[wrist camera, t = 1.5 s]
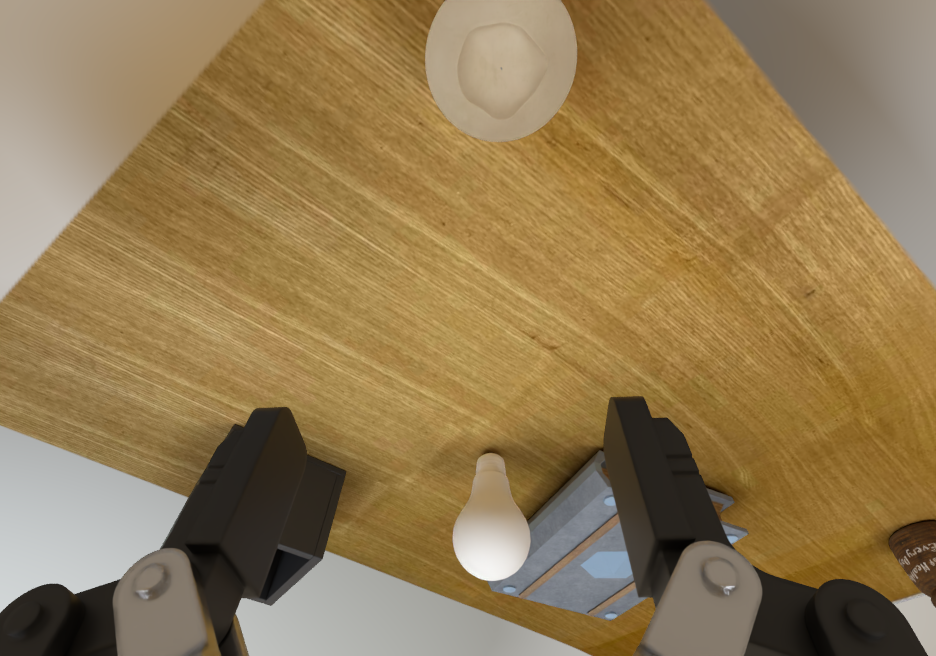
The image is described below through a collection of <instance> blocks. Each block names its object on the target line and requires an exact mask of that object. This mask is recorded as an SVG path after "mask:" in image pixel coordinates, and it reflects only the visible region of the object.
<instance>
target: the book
mask: <svg viewBox="0 0 936 656" xmlns="http://www.w3.org/2000/svg"><path fill="white" fill-rule="evenodd" d="M706 489H707V491H708V493H709V496H710V498H711V500H712V503H713V505H714V508H715V510H716V512H717V515H718V517H719V519H720V522H721V524H722V526H723V529H724V531H725V534H726V536H727V538H728V540H729V542H730V543H731V544H733V543H735V542H736V541H738V540H739V539H741V538H743V537H744V536H746V535H747V534H749V533H748V531H747V529H744V528H741V527H738V526H735V525H732V524H729V523H726V522H723V521H722V520H721V517H720V515H719V514H720V512H722V511H723V510H725V509H726V508H727V507H729V506H730V505H732V504H733V503H734V501H733V498H732V497H730V496H727V495H725V494H722V493H719V492H716V491H713V490H710V489H708V488H706ZM527 523H528V526H529V530H530V540H531V542H530V549H529V552H528V555H527V558H526V560H525V562H524V563H523V565H522V566H521V567H520V569H519V570H518V571H517V572H516V573H514V574H513V575H511V576H509V577H508V578H505V579H502V580H497V581H488V580H487V581H488V583H489V585H490V587H491V589H492V591H496V592H500V593H504V594H508V595H512V596H515V597H519V598H522V599H527V600H531V601H535V602H539V603H543V604H547V605H551V606H555V607H559V608H563V609H567V610H570V611H574V612H578V613H582V614H586V615H590V616H594V617H598V618H602V619H606V620H610V621H611V620H613V619H614V618H616V617H617V616H619V615H621V614H622V613H624V612H625V611H627V610H629V609H630V608H632V607H633V606H635V605H636V604H638V603H640V602H641V601H643V600H644V599H646V598H648V597H640V598H638V594H637V590H636V586H635V582H634V578H633V574H632V570H631V566H630V561H629V557H628V553H627V549H626V545H625V541H624V537H623V533H622V528H621V524H620V520H619V516H618V512H617V508H616V504H615V500H614V495H613V491H612V487H611V483H610V479H609V475H608V471H607V467H606V462H605V456H604V452H603V451H600V450H599V451H598V452H597V453H596V454H595V455H594V456H593V457H592V458H591V459H590V460H589V461H588V462H587V463H586V464H585V465H584V466H583V467H582V468H581V469H580V470H579V471H578V472H577V473H576V474H575V475H574V476H573V477H572V478H571V479H570V480H569V481H568V482H567V483H566V484H565V485H564V486H563V487H562V488H561V489H560V490H559V491H558V492H557V493H556V494H555V495H554V496H553V497H552V498H551V499H550V500H549V501H548V502H547V503H546V504H545V505H544V506H543V507H542V508H541V509H540V510H539V511H537V512H536V513H535V514H534V515H533V516H532V517H531V518H530V519H529V520H528V521H527Z"/></svg>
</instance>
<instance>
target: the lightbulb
mask: <svg viewBox="0 0 936 656" xmlns="http://www.w3.org/2000/svg"><path fill="white" fill-rule="evenodd" d="M530 542H531V540H530V530H529V526H528V523H527V521H526V519H525V517H524V515H523V514H522V512H521V510H520V509H519V508H518V506H517V505H516V503H515V502H514V500H513V498H512V496H511V492H510V488H509V481H508V478H507V477H506V472H505V463H504V459H503V458H502V457H501V456H499V455H497V454H494V453H487V454H484V455H482V456H480V457H479V458H478V460H477V466H476V476H475V478H474V480H473V487H472V492H471V496H470V498H469V500H468V502H467V504H466V505H465V506H464V508H463V509H462V511H461V513H460V514H459V516H458V518H457V520H456V522H455V526H454V529H453V546H454V550H455V553H456V556H457V558H458V560H459V561H460V563H461V564H462V566H463V567H464V568H465V569H466V570H467V571H468V572H469V573H470V574H472V575H474V576H475V577H477V578H480V579H483V580H488V581H497V580H502V579H505V578H508V577H509V576H511V575H513V574H514V573H516V572H517V571H518V570H519V569H520V567H521V566H522V565H523V563H524V562H525V560H526V558H527V555H528V552H529V549H530Z"/></svg>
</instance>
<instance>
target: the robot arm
mask: <svg viewBox="0 0 936 656" xmlns="http://www.w3.org/2000/svg"><path fill="white" fill-rule="evenodd" d="M604 456H605V462H606V467H607V471H608V475H609V479H610V483H611V487H612V491H613V495H614V500H615V504H616V508H617V512H618V516H619V520H620V524H621V528H622V533H623V537H624V541H625V545H626V549H627V553H628V557H629V561H630V566H631V570H632V574H633V578H634V582H635V586H636V590H637V594H638V598H640V597H653V599H654V603H655V607H656V610H655V612H654V615H653V617H652V619H651V621H650V623H649V625H648V628H647V630H646V632H645V634H644V636H643V638H642V640H641V642H640V644H639V646H638V647H637V649H636V651H635V653H634V655H633V656H928V655H927V653H926V652H925V650H924V648H923V646H922V645H921V643H920V641H919V640H918V638H917V636H916V635H915V633H914V631H913V629H912V628H911V626H910V624H909V623H908V621H907V620H906V618H905V617H904V615H903V614H902V613H901V612H900V611H899V610H898V608H897V607H896V606H895V605H894V604H893V603H892V602H890V601H889V600H888V599H887V598H885V597H884V596H883V595H882V594H880V593H878V592H877V591H875V590H874V589H872V588H870V587H868V586H866V585H864V584H861V583H858V582H855V581H851V580H845V579H835V580H830V581H828V582H826V583H824V584H823V585H821V586H820V587H819V589H816V588H813V587H809V586H806V585H802V584H799V583H796V582H792V581H789V580H786V579H782V578H779V577H776V576H773V575H770V574H767V573H765V572H763V571H761V570H759V569H758V568H756V567H755V566H753V565H751V564H750V562H749V561H748V560H747V559H746V558H745V557H744V556H743V555H741V554H740V553H739V552H737V551H736V550H735V549H734V547H733V546H732V545H731V543H730V542H729V540H728V538H727V536H726V534H725V531H724V529H723V526H722V524H721V522H720V519H719V517H718V515H717V512H716V510H715V508H714V505H713V503H712V500H711V498H710V496H709V493H708V491H707V489H706V486H705V484H704V482H703V479H702V477H701V475H699V470H698V467H697V465H696V463H695V460H694V458H692V453H691V451H690V448H689V446H688V444H687V441H686V439H685V437H684V434H683V433H682V432H681V431H680V430H679V429H678V428H677V427H676V426H675V425H674V424H673V423H672V422H671V421H670V420H669V419H668V418H652V417H651V414H650V412H649V409H648V406H647V404H646V401H645V399H644V398H643V397H642V396H634V397H611V398H610V400H609V405H608V412H607V419H606V426H605V433H604ZM306 462H307V450H306V445H305V443H304V440H303V438H302V436H301V433H300V431H299V429H298V426H297V424H296V422H295V419H294V417H293V415H292V412H291V410H290V409H289V408H287V407H274V408H257V409H255V410H254V411H253V412H252V414H251V415H250V417H249V419H248V421H247V423H246V425H245V427H244V429H242V430H234V431H233V432H232V433H231V434H230V435H229V436H228V437H227V438H226V439H225V440H224V441H223V442H222V443H221V444H220V445H219V446H218V447H217V449H216V451H215V453H214V455H213V457H212V458H211V460H210V462H209V464H208V469H205V471H204V473H203V475H202V476H201V478H200V480H199V485H196V487H195V489H194V491H193V493H192V495H191V496H190V498H189V500H188V502H187V504H186V505H185V507H184V509H183V511H182V513H181V514H180V516H179V518H178V520H177V522H176V523H175V525H174V527H173V529H172V531H171V533H170V534H169V536H168V538H167V540H166V542H165V543H164V545H163V546H162V548H161V549H160V550H157V551H154V552H152V553H150V554H148V555H146V556H145V557H143V558H141V559H140V560H139V561H137V562H136V563H135V564H134V565H133V566H132V567H131V568H129V570H128V571H127V572H126V573H125V574H124V576H123V577H122V578H121V579H119V580H117V581H114V582H111V583H108V584H105V585H102V586H98V587H95V588H92V589H90V590H86V591H83V592H80V593H77V594H73V593H72V592H71V591H69V590H68V589H67V588H66V587H64V586H63V585H60V584H46V585H42V586H39V587H37V588H34V589H32V590H30V591H28V592H27V593H24V594H23V595H21V596H20V597H18V598H17V599H16V600H14V601H13V602H12V603H10V604H9V605H8V606H7V607H6V608H5V609H4V610H3V611H2V612H1V613H0V656H249V654H248V651H247V648H246V644H245V641H244V638H243V634H242V631H241V627H240V624H239V621H238V618H237V616H236V614H235V613H236V610H237V607H238V605H239V602H240V600H241V598H260V595H261V592H262V589H263V587H264V584H265V581H266V578H267V575H268V572H269V570H270V567H271V564H272V561H273V558H274V556H275V553H276V550H277V547H278V544H279V542H280V539H281V536H282V533H283V530H284V527H285V525H286V522H287V519H288V516H289V513H290V511H291V508H292V505H293V502H294V499H295V496H296V494H297V491H298V488H299V485H300V482H301V480H302V477H303V474H304V471H305V468H306Z"/></svg>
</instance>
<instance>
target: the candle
mask: <svg viewBox="0 0 936 656" xmlns="http://www.w3.org/2000/svg"><path fill="white" fill-rule="evenodd" d="M576 64H577V42H576V35H575V31H574V26H573V24H572V21H571V18H570V15H569V14H568V12H567V10H566V8H565V6H564V4H563V3H562V2H561V0H445V1H444V3H443V4H442V6H441V7H440V9H439V10H438V12H437V14H436V16H435V18H434V20H433V22H432V25H431V28H430V31H429V34H428V39H427V44H426V53H425V68H426V75H427V80H428V84H429V88H430V91H431V93H432V96H433V98H434V100H435V102H436V104H437V106H438V107H439V109H440V110H441V112H442V113H443V114H444V116H445V117H446V118H447V119H448V120H449V121H450V122H451V123H452V124H453V125H454V126H455V127H457V128H458V129H459V130H461V131H462V132H464V133H466V134H467V135H470V136H472V137H474V138H477V139H480V140H484V141H490V142H507V141H513V140H517V139H520V138H523V137H525V136H528V135H530V134H532V133H533V132H535V131H537V130H538V129H540V128H541V127H542V126H544V125H545V124H546V123H547V122H548V121H549V120H550V119H551V118H552V117H553V116H554V115H555V114H556V113H557V111H558V110H559V109H560V107H561V106H562V104H563V103H564V101H565V99H566V97H567V95H568V93H569V91H570V88H571V86H572V83H573V79H574V75H575V71H576Z"/></svg>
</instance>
